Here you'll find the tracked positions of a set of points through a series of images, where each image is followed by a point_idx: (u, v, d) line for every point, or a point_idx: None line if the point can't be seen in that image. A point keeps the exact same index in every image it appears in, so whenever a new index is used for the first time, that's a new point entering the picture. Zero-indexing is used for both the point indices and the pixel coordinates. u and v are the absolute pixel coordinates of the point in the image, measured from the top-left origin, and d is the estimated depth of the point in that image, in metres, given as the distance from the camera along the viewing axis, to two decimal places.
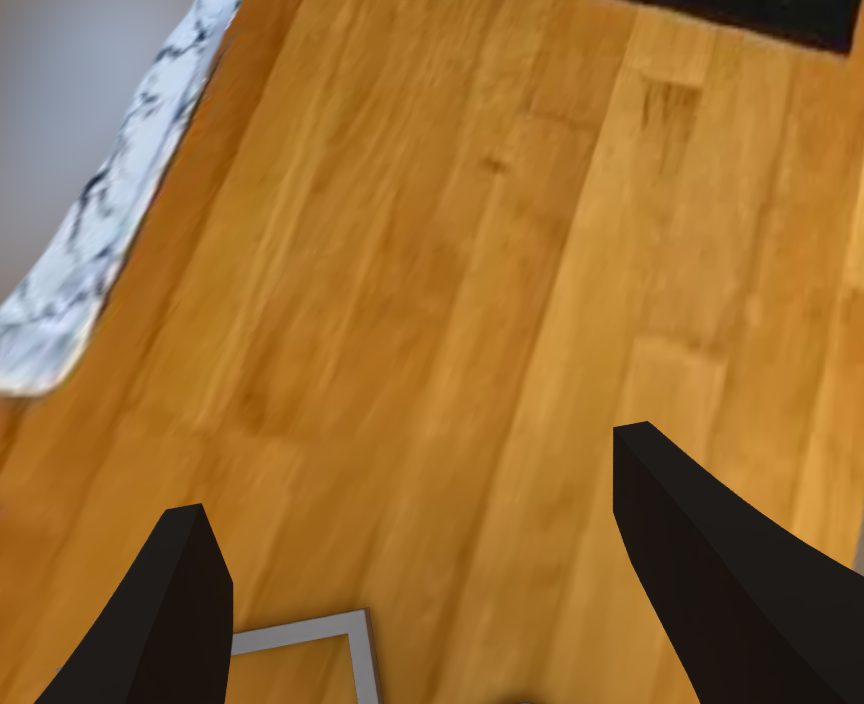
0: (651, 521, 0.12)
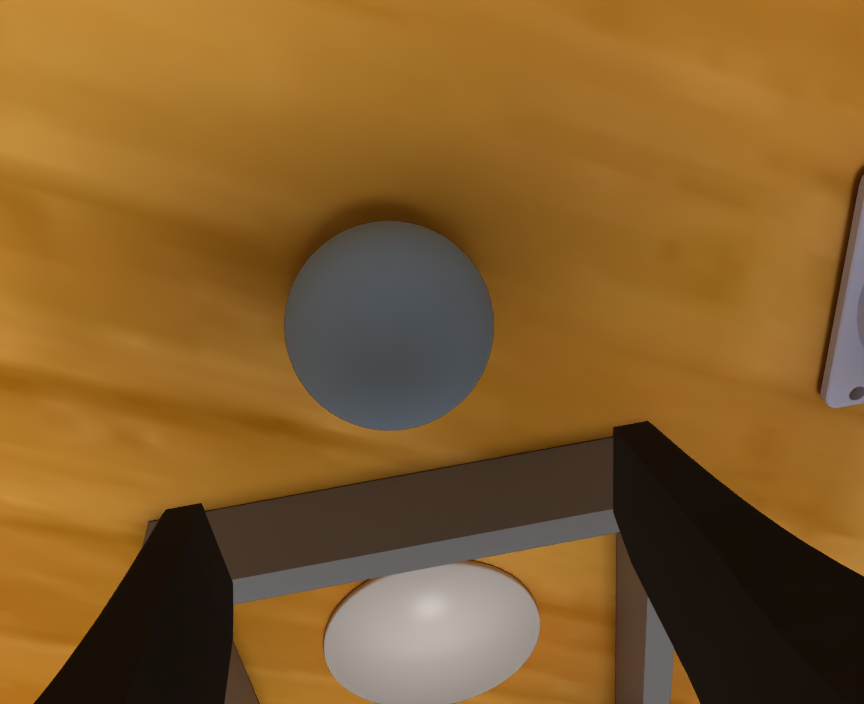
0: (651, 521, 0.12)
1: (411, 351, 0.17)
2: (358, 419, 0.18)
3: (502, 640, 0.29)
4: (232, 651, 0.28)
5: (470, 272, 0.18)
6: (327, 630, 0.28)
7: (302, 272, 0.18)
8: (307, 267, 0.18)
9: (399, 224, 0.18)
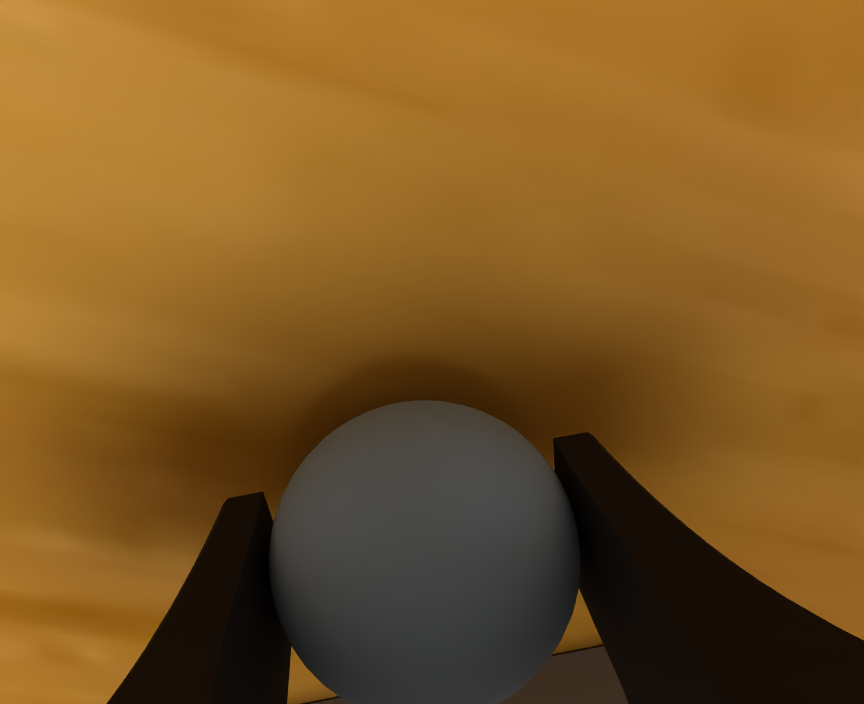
0: (586, 533, 0.12)
1: (467, 644, 0.10)
2: None
3: None
4: None
5: (551, 492, 0.12)
6: None
7: (295, 492, 0.12)
8: (303, 487, 0.12)
9: (442, 417, 0.12)
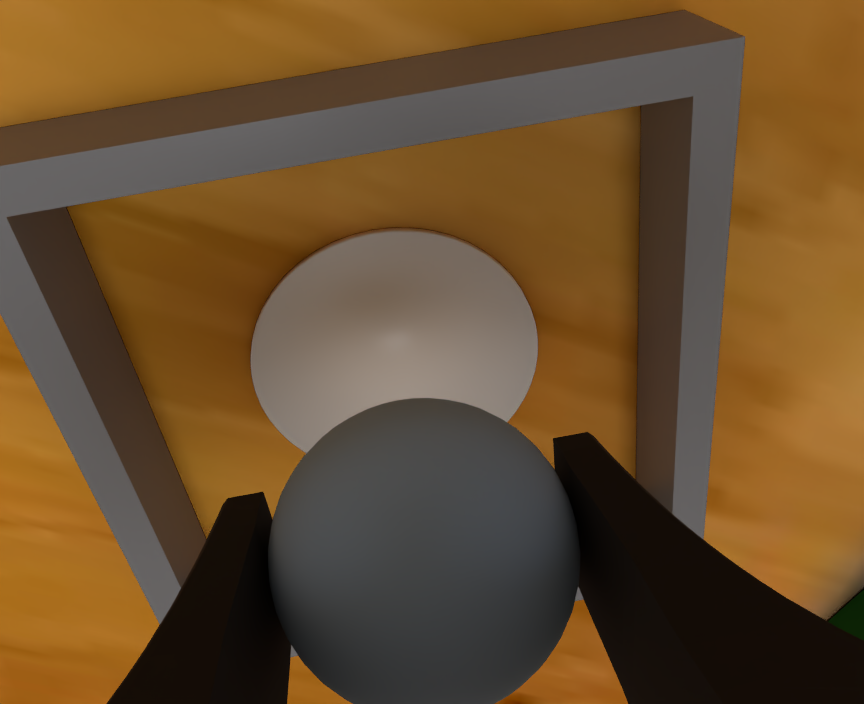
0: (586, 533, 0.12)
1: (465, 641, 0.10)
2: None
3: (488, 368, 0.22)
4: (125, 363, 0.21)
5: (550, 490, 0.12)
6: (252, 338, 0.21)
7: (294, 490, 0.12)
8: (302, 484, 0.12)
9: (441, 415, 0.12)
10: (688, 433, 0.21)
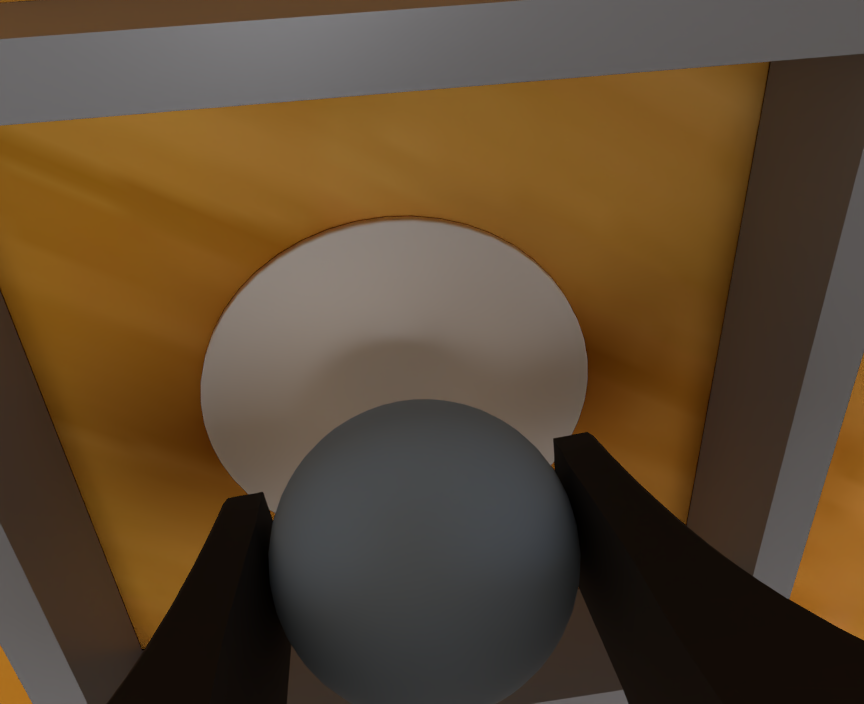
0: (586, 533, 0.12)
1: (466, 642, 0.10)
2: None
3: (518, 413, 0.17)
4: (23, 375, 0.15)
5: (550, 491, 0.12)
6: (206, 353, 0.15)
7: (295, 491, 0.12)
8: (302, 485, 0.12)
9: (441, 416, 0.12)
10: (782, 521, 0.16)
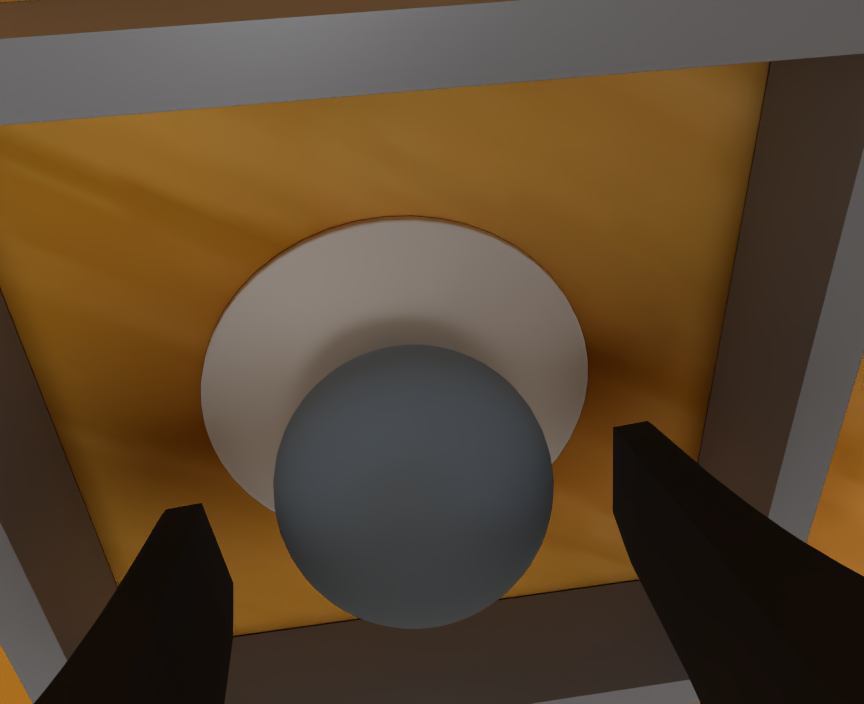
0: (651, 521, 0.12)
1: (449, 547, 0.12)
2: (374, 622, 0.13)
3: None
4: (23, 375, 0.15)
5: (525, 421, 0.13)
6: (206, 353, 0.15)
7: (297, 423, 0.13)
8: (304, 417, 0.13)
9: (428, 356, 0.13)
10: (782, 521, 0.16)
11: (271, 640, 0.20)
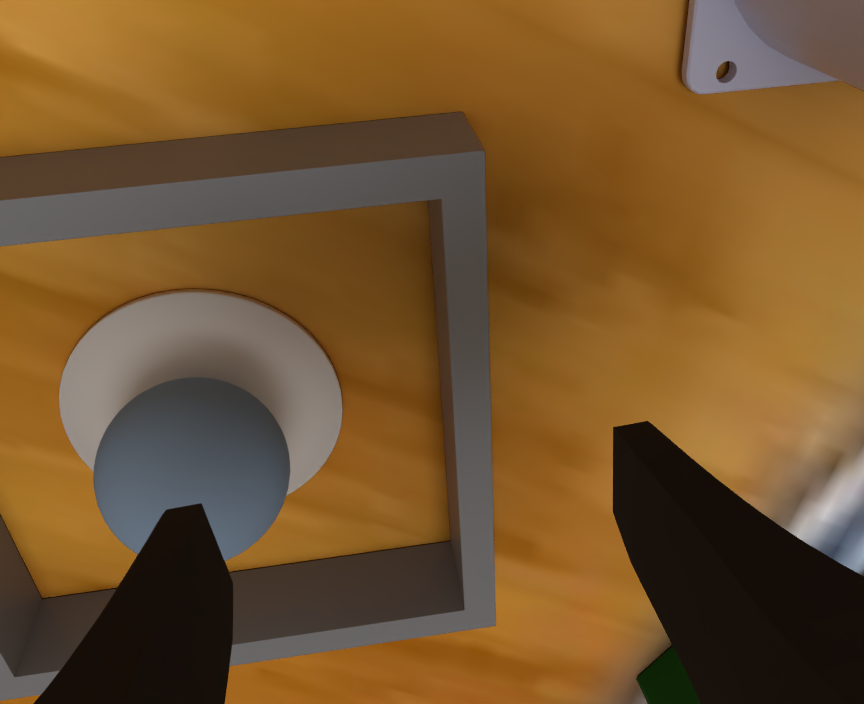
0: (651, 521, 0.12)
1: None
2: None
3: (295, 421, 0.24)
4: None
5: (256, 429, 0.20)
6: (61, 382, 0.22)
7: (105, 431, 0.20)
8: (109, 428, 0.20)
9: (193, 386, 0.20)
10: (469, 495, 0.23)
11: None
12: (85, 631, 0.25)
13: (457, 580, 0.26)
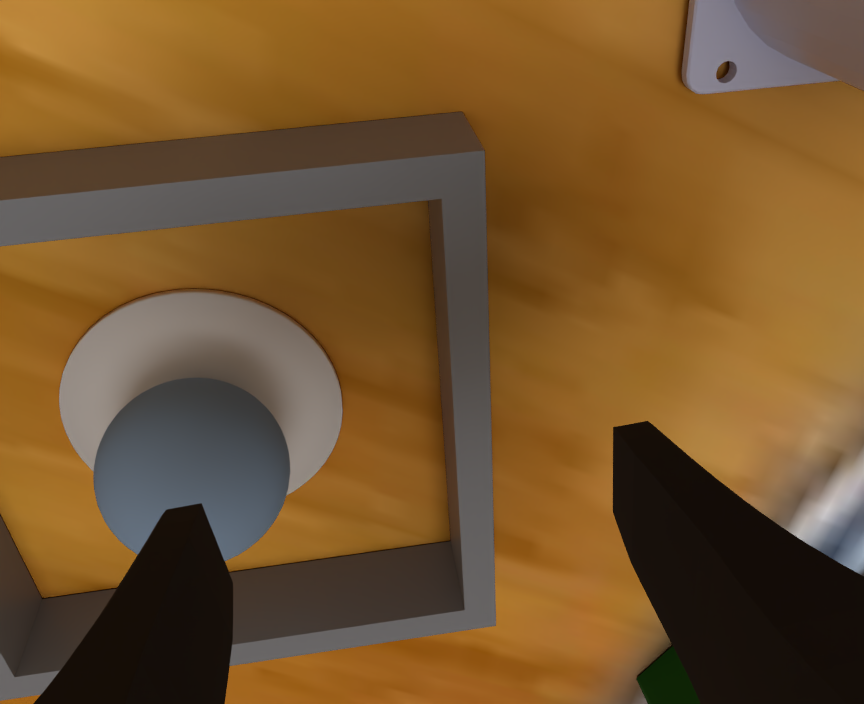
0: (651, 521, 0.12)
1: None
2: None
3: (295, 421, 0.24)
4: None
5: (256, 430, 0.20)
6: (61, 382, 0.22)
7: (105, 432, 0.20)
8: (109, 428, 0.20)
9: (193, 387, 0.20)
10: (469, 495, 0.23)
11: None
12: (85, 631, 0.25)
13: (457, 580, 0.26)
